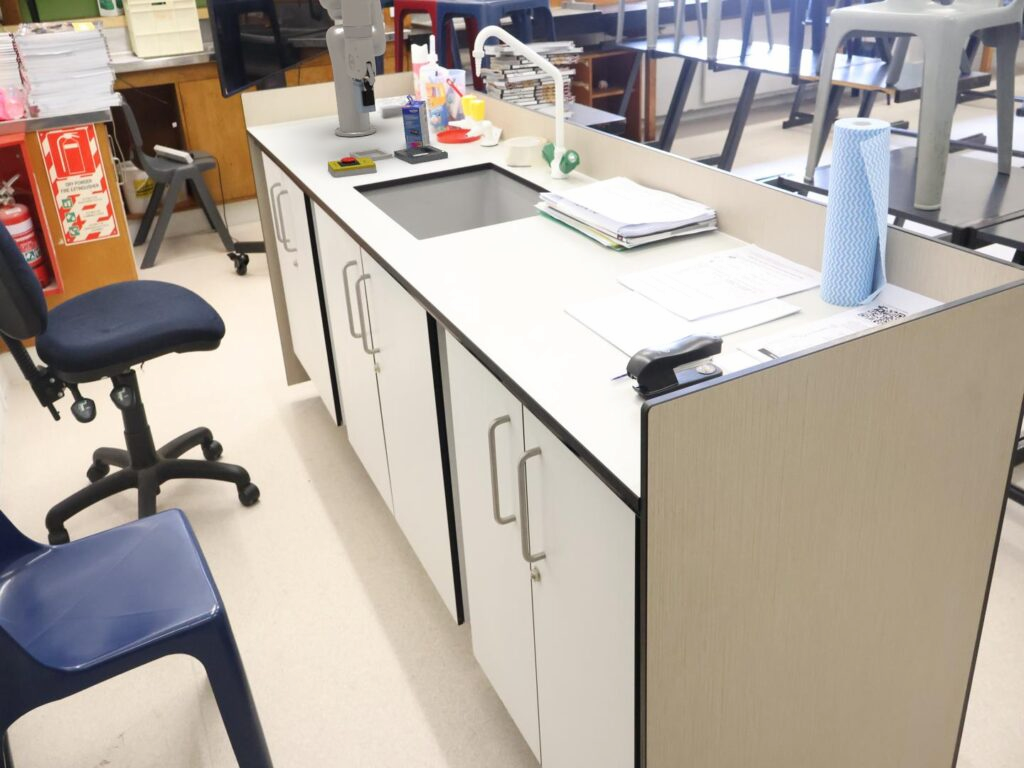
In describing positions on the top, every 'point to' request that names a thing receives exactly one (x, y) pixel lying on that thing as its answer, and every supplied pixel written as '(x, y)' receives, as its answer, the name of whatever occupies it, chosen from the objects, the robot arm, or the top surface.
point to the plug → (358, 98)
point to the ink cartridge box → (415, 123)
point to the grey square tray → (372, 154)
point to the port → (408, 155)
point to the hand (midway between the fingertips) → (365, 103)
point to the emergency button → (351, 167)
